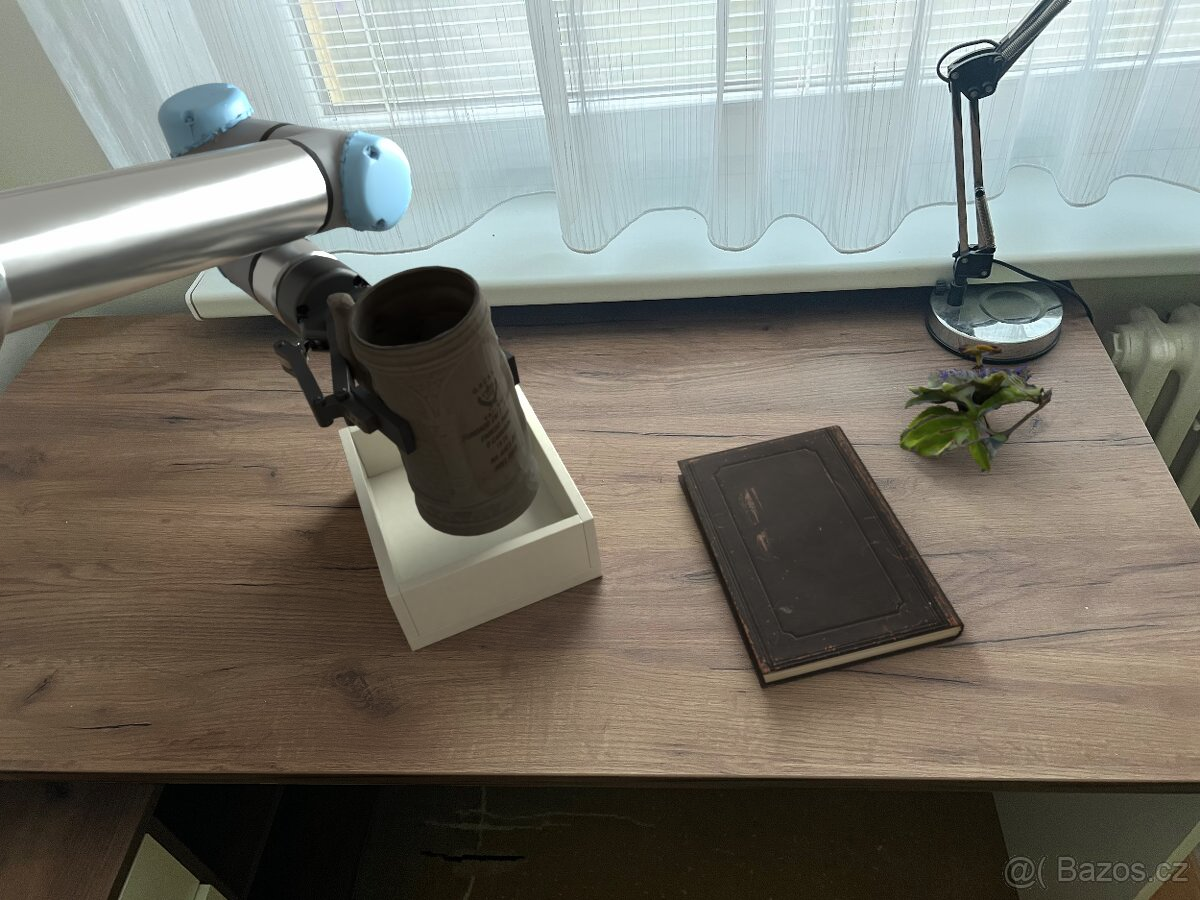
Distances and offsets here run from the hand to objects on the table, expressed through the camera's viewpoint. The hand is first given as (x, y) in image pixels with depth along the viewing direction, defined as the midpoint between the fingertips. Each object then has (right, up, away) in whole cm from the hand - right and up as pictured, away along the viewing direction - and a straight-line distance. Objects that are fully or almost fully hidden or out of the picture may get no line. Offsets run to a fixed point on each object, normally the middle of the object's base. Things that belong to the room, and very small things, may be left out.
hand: (462, 404), depth 65 cm
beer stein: (-2, -6, +10) cm, 12 cm away
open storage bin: (-1, -11, +15) cm, 18 cm away
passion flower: (+45, -3, +16) cm, 48 cm away
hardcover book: (+28, -12, +9) cm, 32 cm away
